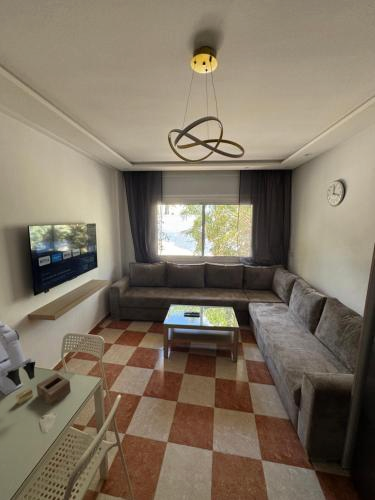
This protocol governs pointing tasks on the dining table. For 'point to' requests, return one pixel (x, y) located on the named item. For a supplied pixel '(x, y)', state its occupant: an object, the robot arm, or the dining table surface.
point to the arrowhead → (47, 422)
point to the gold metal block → (24, 396)
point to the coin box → (53, 388)
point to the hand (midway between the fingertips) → (25, 381)
